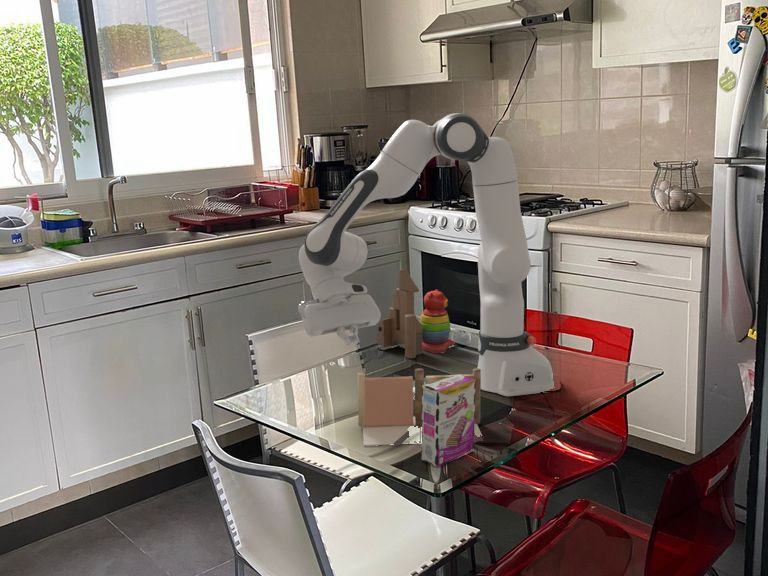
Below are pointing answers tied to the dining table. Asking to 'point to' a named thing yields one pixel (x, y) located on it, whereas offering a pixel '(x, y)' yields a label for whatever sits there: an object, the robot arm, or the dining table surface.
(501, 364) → the robot arm
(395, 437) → the card
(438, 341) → the stacking bear
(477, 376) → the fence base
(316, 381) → the dining table surface
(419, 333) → the wooden toy
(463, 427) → the candy bar box
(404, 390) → the swing panel
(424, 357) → the dining table surface
